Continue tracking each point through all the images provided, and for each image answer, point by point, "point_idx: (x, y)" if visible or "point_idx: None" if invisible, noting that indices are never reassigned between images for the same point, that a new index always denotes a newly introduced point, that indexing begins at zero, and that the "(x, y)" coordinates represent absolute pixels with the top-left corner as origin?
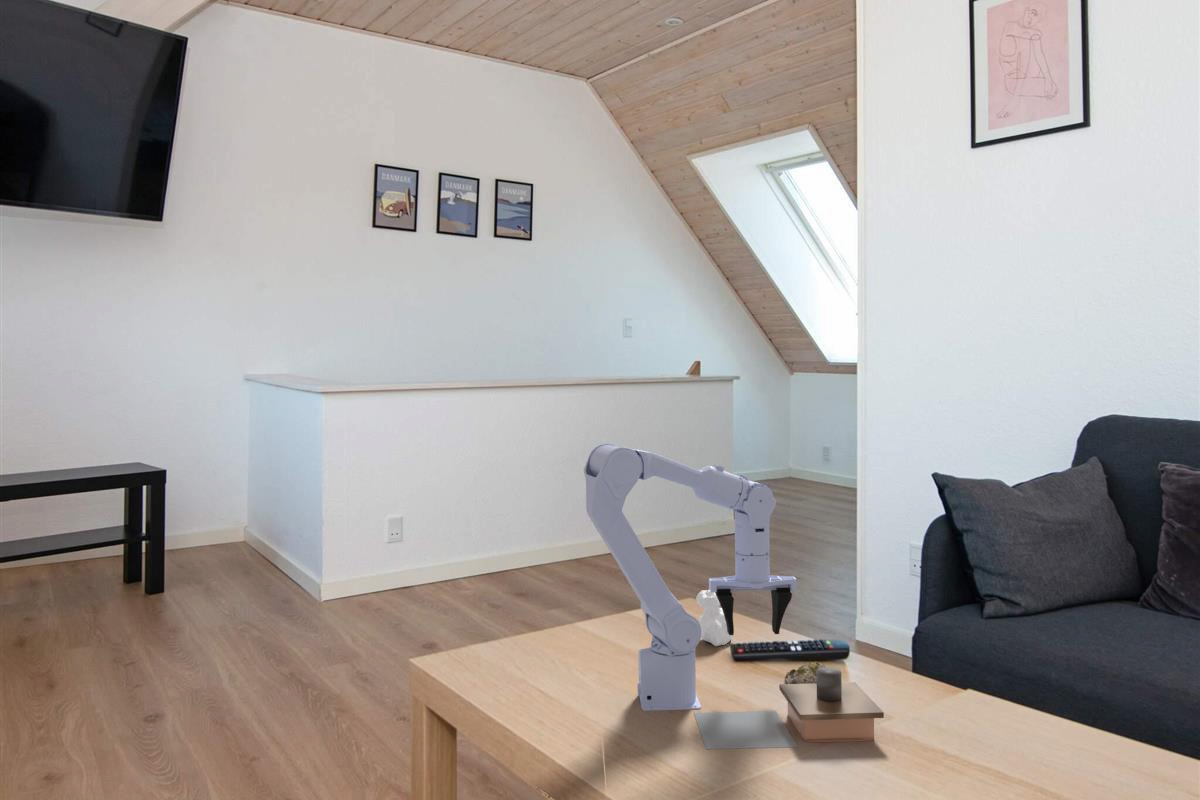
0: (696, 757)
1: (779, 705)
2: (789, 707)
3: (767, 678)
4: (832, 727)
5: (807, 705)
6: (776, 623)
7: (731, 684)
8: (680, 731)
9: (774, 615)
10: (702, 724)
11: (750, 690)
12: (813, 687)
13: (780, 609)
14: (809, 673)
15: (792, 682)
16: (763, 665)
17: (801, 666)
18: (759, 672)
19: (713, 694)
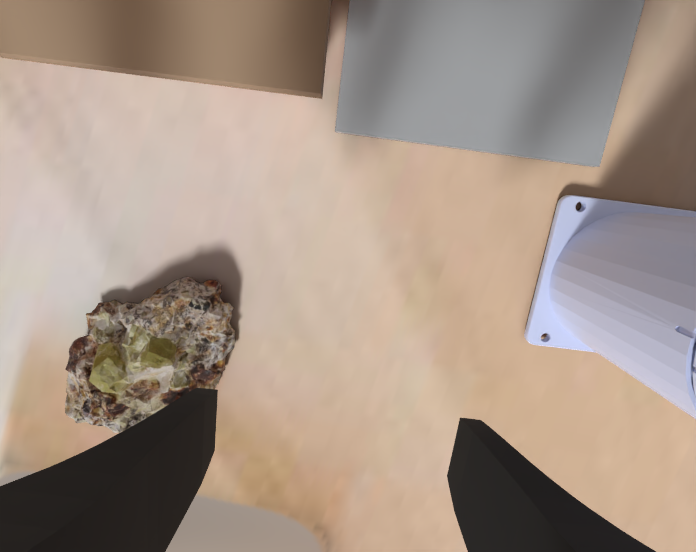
0: None
1: (301, 195)
2: None
3: (267, 405)
4: None
5: None
6: (184, 416)
7: (388, 381)
8: (686, 46)
9: (162, 503)
10: (611, 63)
11: (349, 327)
12: (185, 23)
13: (85, 477)
14: (138, 332)
15: (215, 303)
16: (246, 499)
17: None
18: (275, 452)
19: (469, 318)
